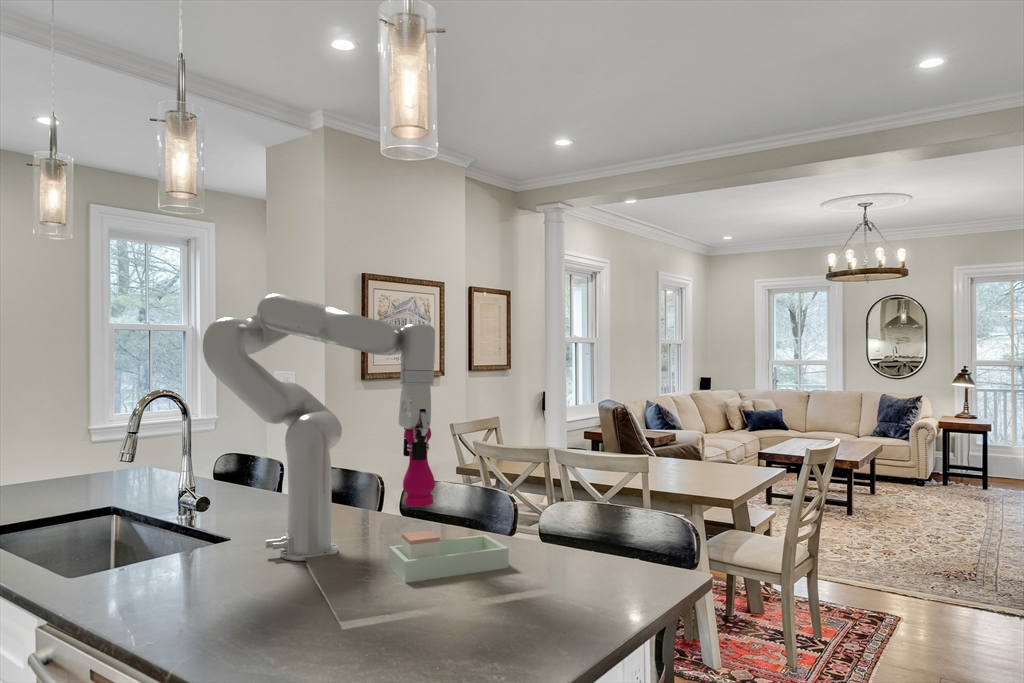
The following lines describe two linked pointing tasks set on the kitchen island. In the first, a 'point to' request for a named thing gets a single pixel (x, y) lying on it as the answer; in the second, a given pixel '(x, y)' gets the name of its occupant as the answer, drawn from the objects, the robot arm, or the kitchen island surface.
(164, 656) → the kitchen island surface
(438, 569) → the tray
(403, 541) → the box
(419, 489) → the pepper mill
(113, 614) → the kitchen island surface
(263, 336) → the robot arm
